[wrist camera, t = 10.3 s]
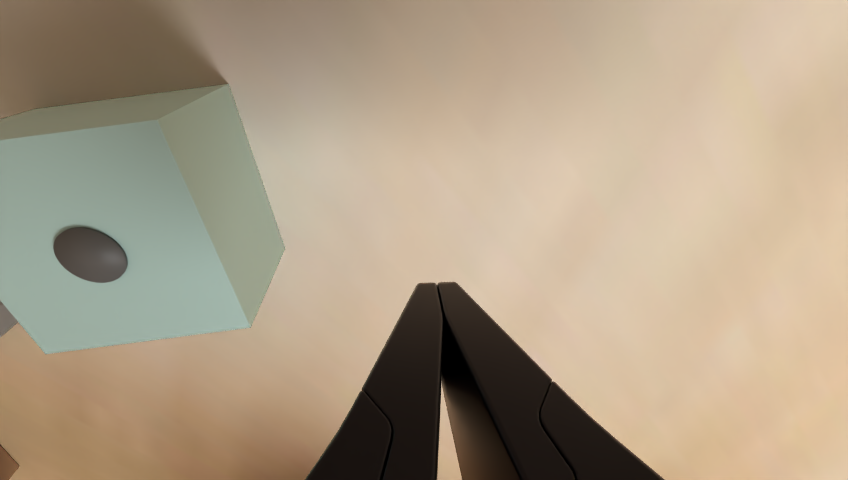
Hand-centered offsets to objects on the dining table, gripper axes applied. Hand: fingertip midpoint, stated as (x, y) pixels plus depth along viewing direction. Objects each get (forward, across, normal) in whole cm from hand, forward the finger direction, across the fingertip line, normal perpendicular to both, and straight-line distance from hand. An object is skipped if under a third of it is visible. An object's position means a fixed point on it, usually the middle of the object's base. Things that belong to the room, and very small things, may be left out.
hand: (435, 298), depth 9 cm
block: (+7, +8, 0) cm, 11 cm away
